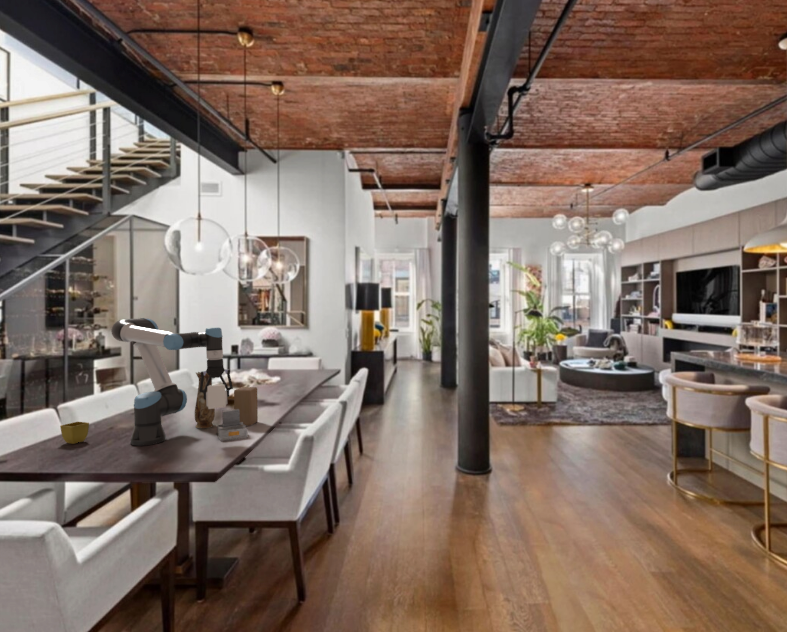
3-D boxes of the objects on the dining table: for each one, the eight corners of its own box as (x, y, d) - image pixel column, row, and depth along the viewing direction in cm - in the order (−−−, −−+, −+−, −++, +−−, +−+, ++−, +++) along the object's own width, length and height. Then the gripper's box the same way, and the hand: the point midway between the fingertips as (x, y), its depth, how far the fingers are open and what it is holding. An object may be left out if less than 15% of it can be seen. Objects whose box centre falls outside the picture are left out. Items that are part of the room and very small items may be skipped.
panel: (208, 409, 222) (207, 386, 222) (208, 407, 225) (207, 385, 225) (225, 407, 225) (224, 384, 225) (225, 405, 229) (224, 384, 229)
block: (258, 421, 261) (257, 386, 261) (251, 426, 251) (250, 390, 251) (241, 421, 262) (241, 386, 262) (233, 425, 252) (233, 389, 252)
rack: (220, 441, 223) (220, 416, 223) (217, 433, 237) (217, 410, 237) (247, 437, 228) (247, 414, 228) (242, 430, 243) (242, 407, 242)
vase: (202, 423, 258) (201, 370, 257) (219, 424, 256) (218, 370, 255) (190, 428, 248) (189, 373, 247) (208, 429, 245) (207, 373, 245)
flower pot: (59, 443, 220) (59, 425, 220) (78, 439, 229) (77, 421, 228) (72, 445, 217) (71, 427, 217) (90, 440, 225) (89, 422, 225)
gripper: (191, 361, 218) (193, 408, 218) (237, 357, 226) (239, 403, 226) (191, 360, 225) (193, 406, 225) (236, 356, 233) (238, 401, 233)
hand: (216, 404), depth 225 cm, fingers closed on panel, 8 cm apart
